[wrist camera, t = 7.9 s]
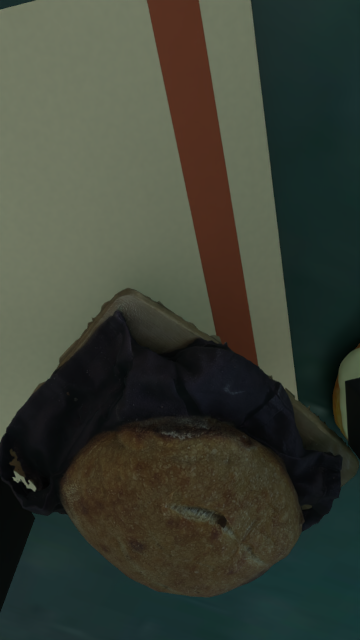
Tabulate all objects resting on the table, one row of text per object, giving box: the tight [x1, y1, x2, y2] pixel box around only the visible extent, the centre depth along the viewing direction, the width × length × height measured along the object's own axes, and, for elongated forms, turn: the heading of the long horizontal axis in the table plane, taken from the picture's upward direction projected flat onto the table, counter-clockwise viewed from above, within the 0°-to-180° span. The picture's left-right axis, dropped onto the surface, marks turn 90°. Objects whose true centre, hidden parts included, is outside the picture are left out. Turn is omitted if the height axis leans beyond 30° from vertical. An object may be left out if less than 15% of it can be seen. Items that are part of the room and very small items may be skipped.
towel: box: [0, 0, 298, 491], centre depth 17 cm, size 24×23×1 cm
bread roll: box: [0, 288, 359, 597], centre depth 10 cm, size 11×8×4 cm
